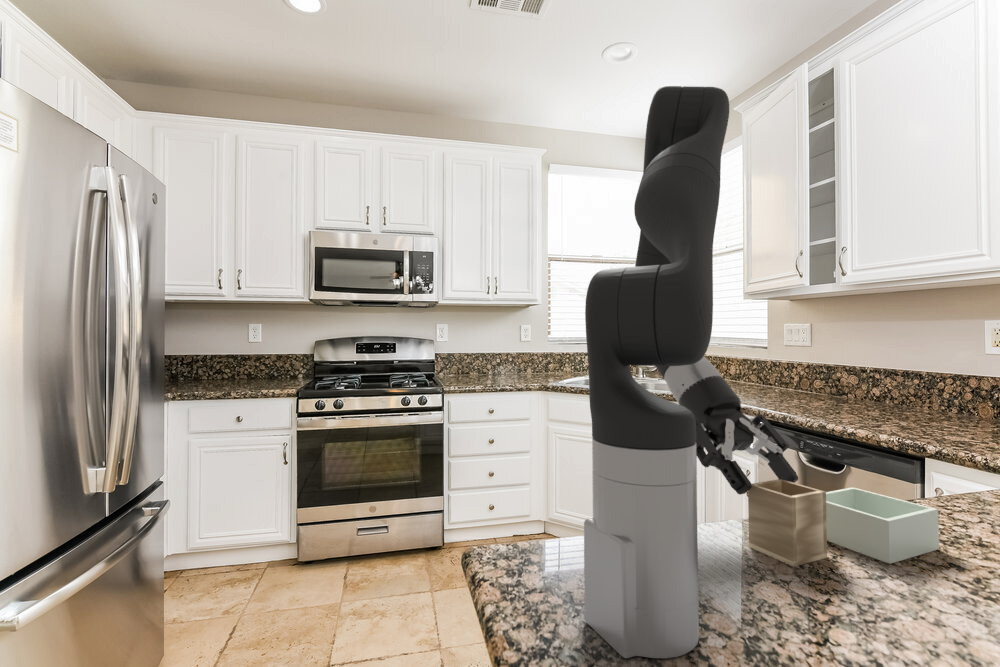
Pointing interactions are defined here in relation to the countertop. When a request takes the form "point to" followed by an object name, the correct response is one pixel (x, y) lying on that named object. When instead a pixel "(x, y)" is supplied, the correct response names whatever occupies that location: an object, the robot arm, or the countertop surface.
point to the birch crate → (788, 521)
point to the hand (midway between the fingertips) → (770, 487)
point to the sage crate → (880, 525)
